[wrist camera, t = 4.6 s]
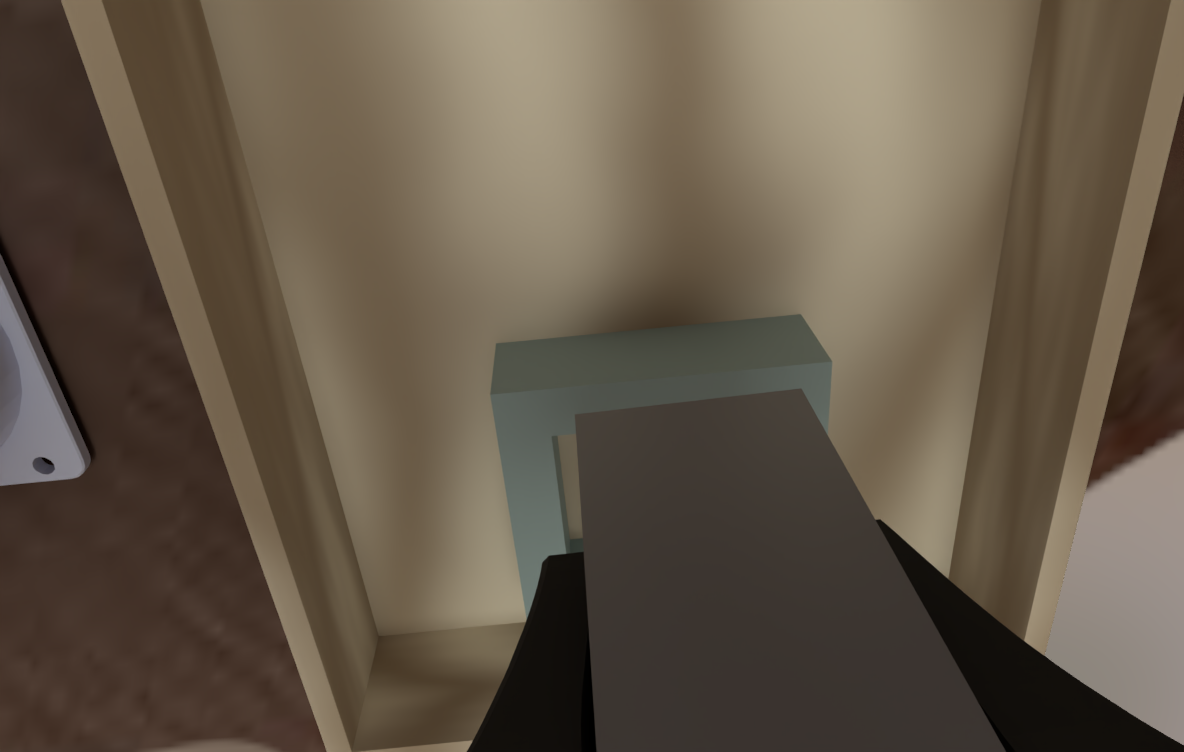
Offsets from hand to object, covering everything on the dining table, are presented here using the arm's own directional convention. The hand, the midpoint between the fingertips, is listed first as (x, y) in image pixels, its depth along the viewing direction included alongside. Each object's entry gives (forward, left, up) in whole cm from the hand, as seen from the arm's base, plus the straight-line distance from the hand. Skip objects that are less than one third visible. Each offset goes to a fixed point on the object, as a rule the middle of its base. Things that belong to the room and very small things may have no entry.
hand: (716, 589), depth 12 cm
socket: (0, -4, -10) cm, 10 cm away
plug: (0, 0, -2) cm, 2 cm away
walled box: (0, 0, -10) cm, 10 cm away
